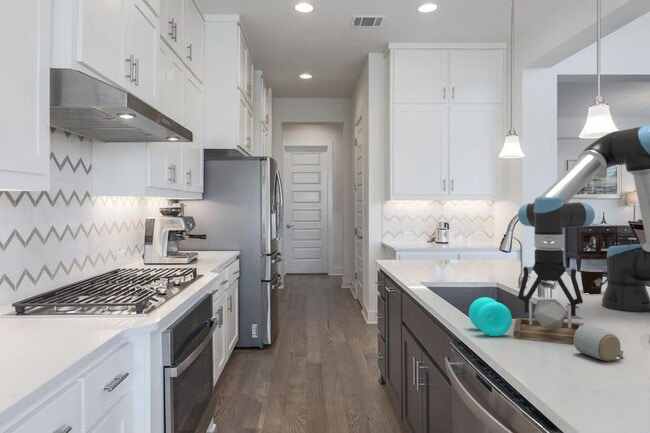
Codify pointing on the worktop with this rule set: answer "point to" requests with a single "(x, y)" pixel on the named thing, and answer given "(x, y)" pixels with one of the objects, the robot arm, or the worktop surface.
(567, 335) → the tray
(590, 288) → the coffee mug
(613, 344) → the ceramic mug
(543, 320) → the die
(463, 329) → the worktop surface
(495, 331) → the donuts
